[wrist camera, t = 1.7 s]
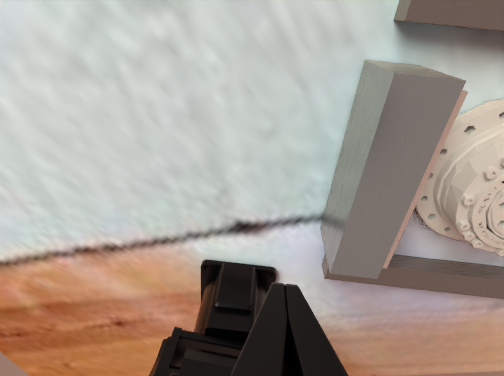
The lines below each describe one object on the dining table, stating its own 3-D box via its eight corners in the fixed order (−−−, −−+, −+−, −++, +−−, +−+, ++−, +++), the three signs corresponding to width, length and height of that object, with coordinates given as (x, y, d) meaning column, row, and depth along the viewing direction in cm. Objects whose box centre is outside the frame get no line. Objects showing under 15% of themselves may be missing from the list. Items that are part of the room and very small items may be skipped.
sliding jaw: (366, 233, 22) (386, 280, 18) (320, 228, 22) (330, 273, 18) (429, 66, 16) (480, 82, 12) (364, 59, 16) (394, 73, 12)
